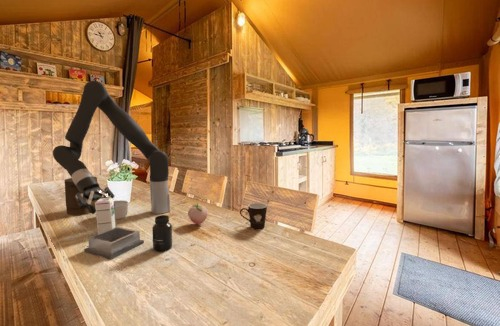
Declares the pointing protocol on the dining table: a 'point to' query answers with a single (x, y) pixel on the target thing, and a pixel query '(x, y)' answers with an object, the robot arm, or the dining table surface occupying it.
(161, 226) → the supplement bottle
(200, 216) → the decorative fruit
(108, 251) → the collar
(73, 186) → the wooden container
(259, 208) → the coffee mug
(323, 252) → the dining table surface
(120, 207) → the ramekin
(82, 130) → the robot arm
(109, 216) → the syrup box
